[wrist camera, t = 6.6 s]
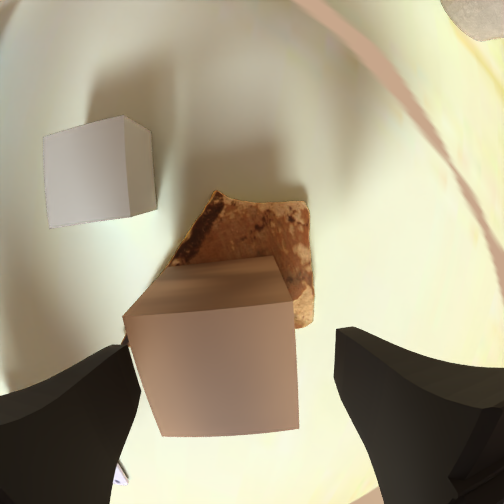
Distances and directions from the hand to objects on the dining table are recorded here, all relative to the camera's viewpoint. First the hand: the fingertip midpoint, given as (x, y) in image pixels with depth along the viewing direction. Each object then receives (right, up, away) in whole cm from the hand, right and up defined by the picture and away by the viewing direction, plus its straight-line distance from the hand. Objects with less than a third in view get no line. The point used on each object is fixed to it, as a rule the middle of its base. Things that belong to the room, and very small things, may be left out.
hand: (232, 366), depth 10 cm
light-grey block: (-6, +8, +5) cm, 11 cm away
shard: (0, +1, +7) cm, 7 cm away
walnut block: (-1, +1, +5) cm, 5 cm away
